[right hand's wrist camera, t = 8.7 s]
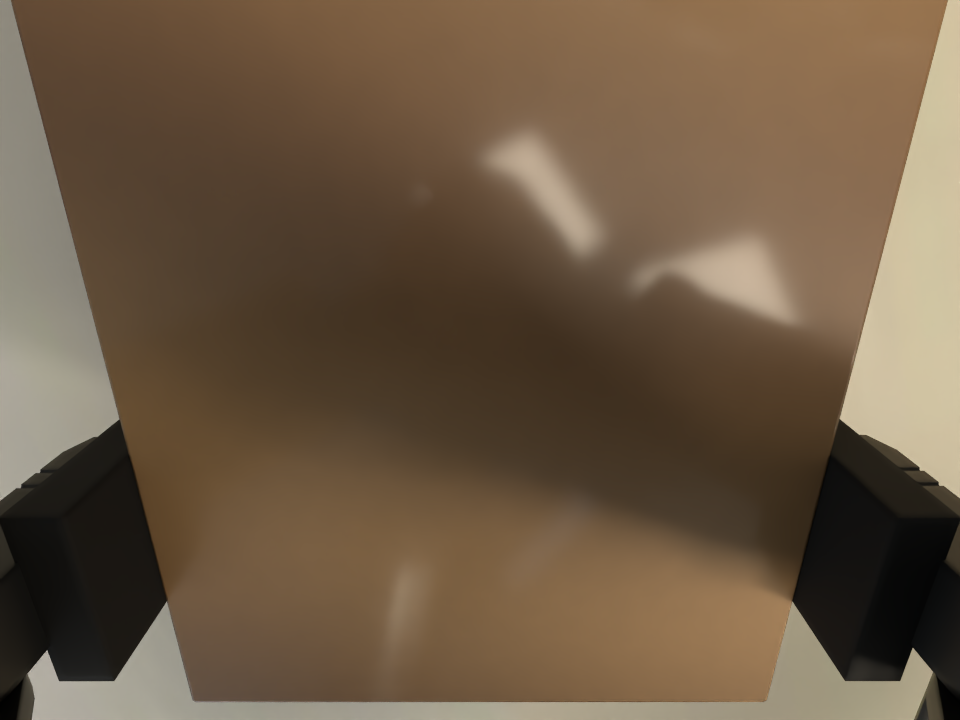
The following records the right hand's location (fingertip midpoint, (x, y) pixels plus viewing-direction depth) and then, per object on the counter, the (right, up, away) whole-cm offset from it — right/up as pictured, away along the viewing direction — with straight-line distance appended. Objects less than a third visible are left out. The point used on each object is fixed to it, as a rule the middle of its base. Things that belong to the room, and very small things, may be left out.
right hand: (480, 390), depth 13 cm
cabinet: (0, +6, +1) cm, 6 cm away
